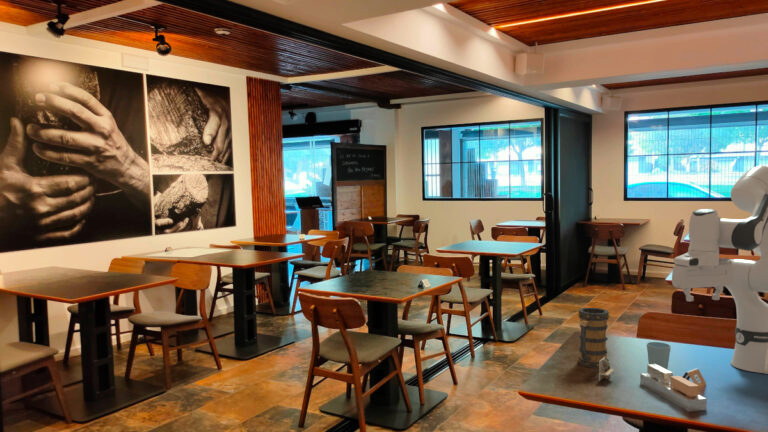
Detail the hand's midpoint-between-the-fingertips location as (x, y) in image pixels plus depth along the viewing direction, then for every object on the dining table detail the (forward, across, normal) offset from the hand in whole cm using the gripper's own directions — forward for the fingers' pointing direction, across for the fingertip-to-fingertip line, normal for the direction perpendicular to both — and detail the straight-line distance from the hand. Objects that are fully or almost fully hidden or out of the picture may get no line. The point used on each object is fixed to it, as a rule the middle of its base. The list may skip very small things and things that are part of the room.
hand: (702, 300), depth 190 cm
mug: (+29, +24, -28) cm, 47 cm away
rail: (+29, +15, +6) cm, 33 cm away
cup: (+29, +6, -14) cm, 33 cm away
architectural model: (+30, +28, -12) cm, 42 cm away
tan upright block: (+29, +15, +12) cm, 35 cm away
